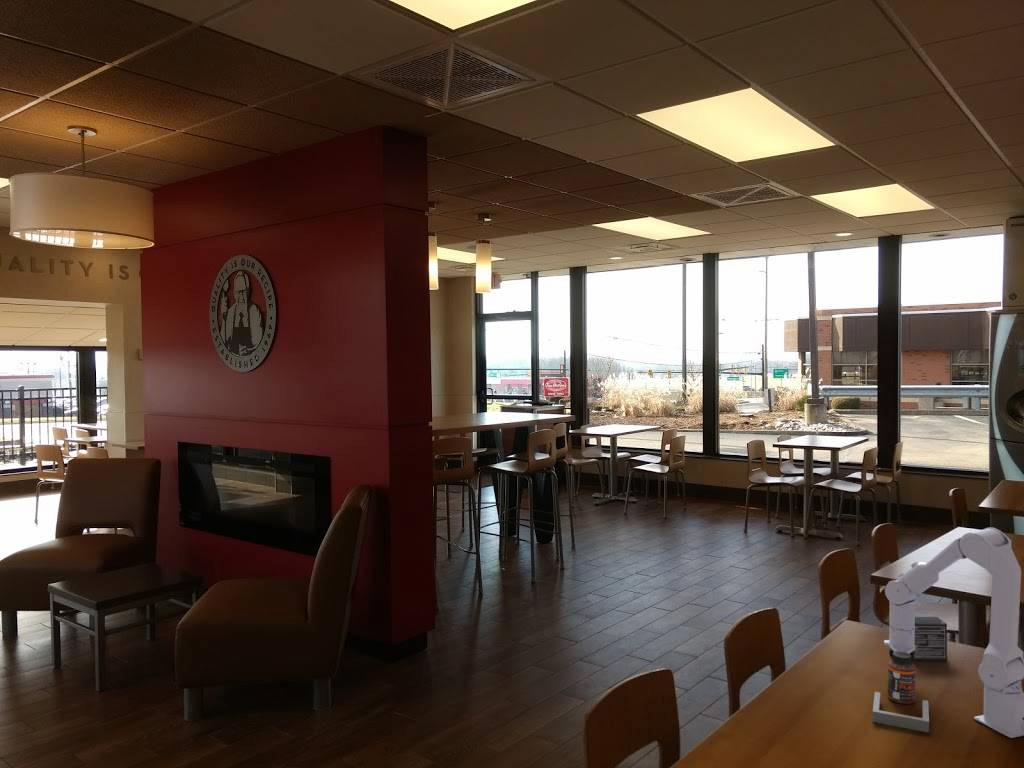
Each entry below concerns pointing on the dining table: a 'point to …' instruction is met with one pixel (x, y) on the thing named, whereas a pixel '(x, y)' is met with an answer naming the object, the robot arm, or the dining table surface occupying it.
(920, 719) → the grey u-shaped bracket
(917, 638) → the small box
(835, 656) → the dining table surface
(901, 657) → the supplement bottle
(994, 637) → the robot arm
